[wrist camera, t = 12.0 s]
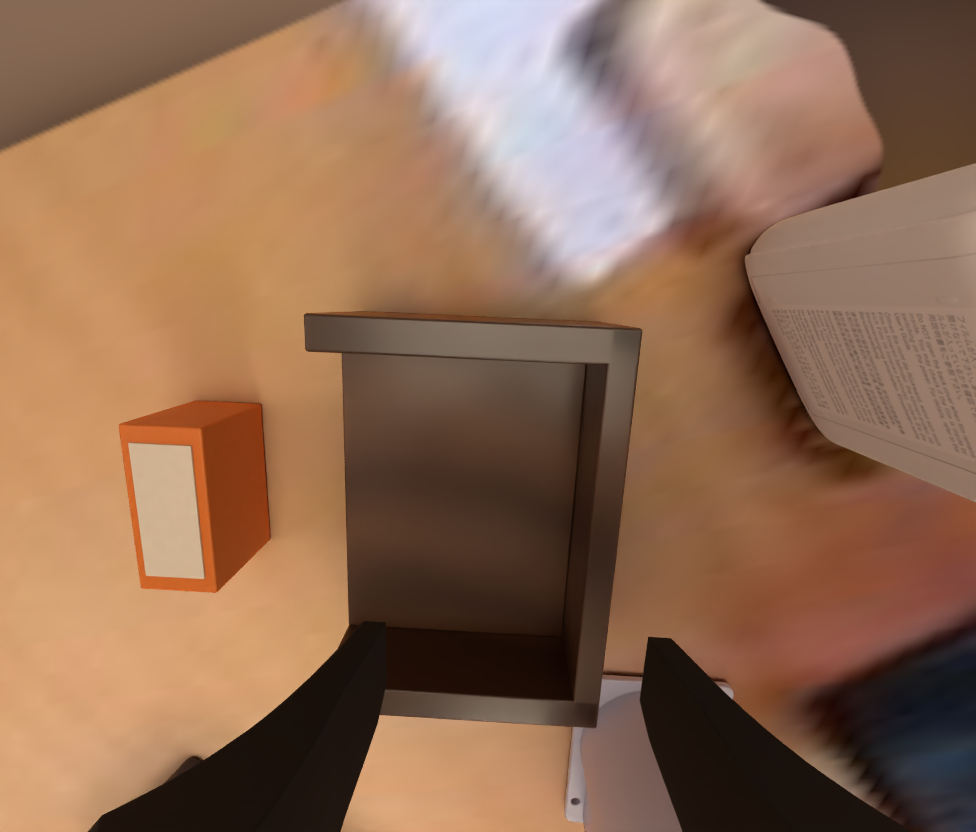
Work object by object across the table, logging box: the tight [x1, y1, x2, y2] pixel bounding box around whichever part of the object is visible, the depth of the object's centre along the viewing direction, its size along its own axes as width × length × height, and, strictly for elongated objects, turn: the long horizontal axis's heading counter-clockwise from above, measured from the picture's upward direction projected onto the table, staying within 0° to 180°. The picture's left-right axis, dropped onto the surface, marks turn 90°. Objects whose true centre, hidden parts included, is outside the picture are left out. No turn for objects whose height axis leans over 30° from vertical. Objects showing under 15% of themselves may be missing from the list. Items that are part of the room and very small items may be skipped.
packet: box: [119, 401, 270, 593], centre depth 21 cm, size 7×3×5 cm, turn 178°
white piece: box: [745, 163, 976, 503], centre depth 15 cm, size 10×4×12 cm, turn 31°
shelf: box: [304, 311, 642, 728], centre depth 20 cm, size 15×11×6 cm
